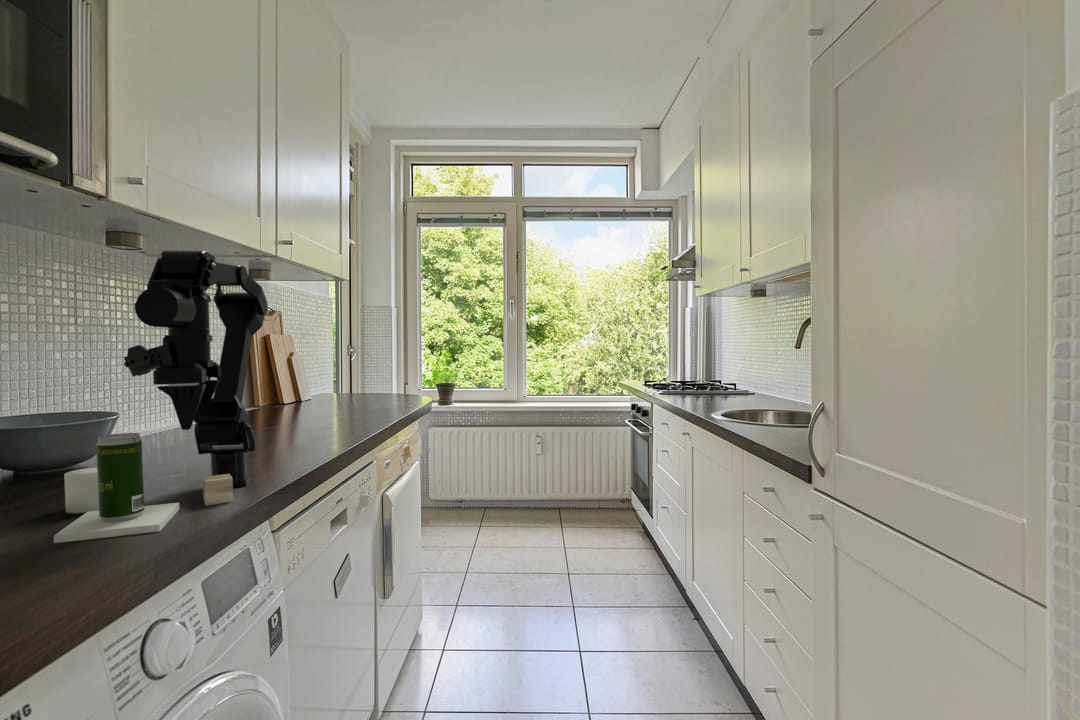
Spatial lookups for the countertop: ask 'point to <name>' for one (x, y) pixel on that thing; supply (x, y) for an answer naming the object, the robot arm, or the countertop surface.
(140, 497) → the beer can
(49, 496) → the countertop surface
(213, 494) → the maple block
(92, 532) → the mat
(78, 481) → the rounded cream cube
